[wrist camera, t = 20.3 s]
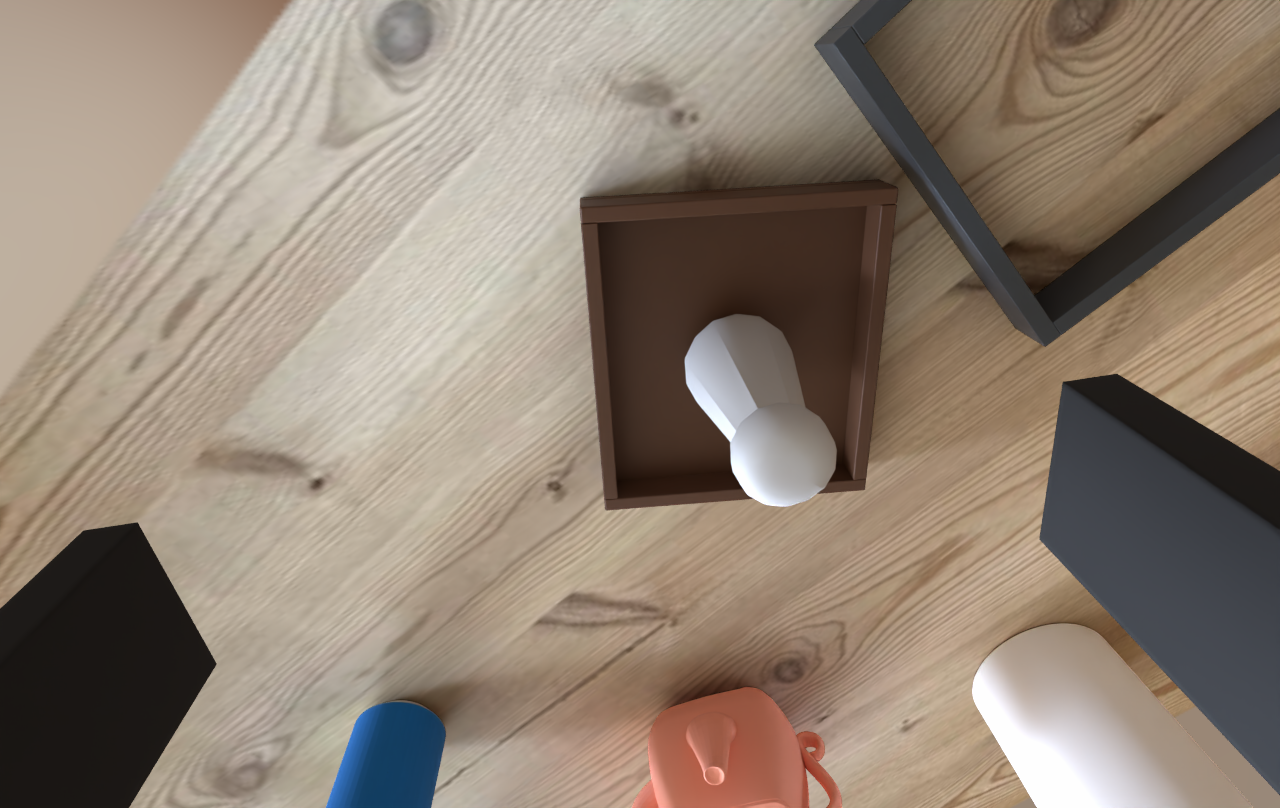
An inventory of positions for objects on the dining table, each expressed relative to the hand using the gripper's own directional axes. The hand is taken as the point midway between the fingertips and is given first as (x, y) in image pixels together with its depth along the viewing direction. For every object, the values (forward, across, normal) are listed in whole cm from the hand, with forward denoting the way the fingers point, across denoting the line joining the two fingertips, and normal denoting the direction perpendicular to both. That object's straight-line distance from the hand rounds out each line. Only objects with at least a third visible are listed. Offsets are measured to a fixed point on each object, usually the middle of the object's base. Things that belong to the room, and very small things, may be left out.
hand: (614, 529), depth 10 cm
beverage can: (+29, -20, -35) cm, 50 cm away
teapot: (+29, +2, -41) cm, 50 cm away
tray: (+29, +6, -10) cm, 31 cm away
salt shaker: (+28, +6, -10) cm, 30 cm away
